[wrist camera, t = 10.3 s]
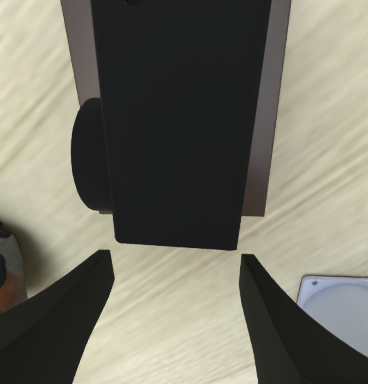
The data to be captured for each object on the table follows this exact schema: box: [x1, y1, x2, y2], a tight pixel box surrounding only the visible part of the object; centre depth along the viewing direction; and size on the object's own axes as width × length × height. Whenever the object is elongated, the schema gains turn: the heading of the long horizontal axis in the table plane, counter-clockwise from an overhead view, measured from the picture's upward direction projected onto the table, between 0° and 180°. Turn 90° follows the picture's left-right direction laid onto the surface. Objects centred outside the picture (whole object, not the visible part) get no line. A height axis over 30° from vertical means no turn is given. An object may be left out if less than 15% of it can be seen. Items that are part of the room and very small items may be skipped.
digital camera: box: [71, 0, 272, 251], centre depth 9 cm, size 10×5×7 cm, turn 178°
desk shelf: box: [60, 0, 291, 217], centre depth 15 cm, size 11×15×4 cm
